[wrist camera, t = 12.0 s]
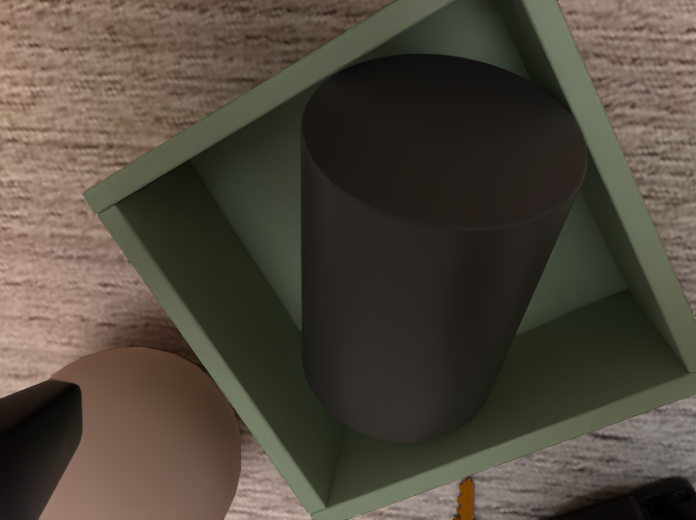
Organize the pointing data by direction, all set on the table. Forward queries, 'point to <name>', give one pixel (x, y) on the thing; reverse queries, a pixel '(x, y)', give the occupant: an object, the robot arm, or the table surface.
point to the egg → (148, 441)
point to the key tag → (466, 500)
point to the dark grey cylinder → (425, 234)
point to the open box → (285, 268)
